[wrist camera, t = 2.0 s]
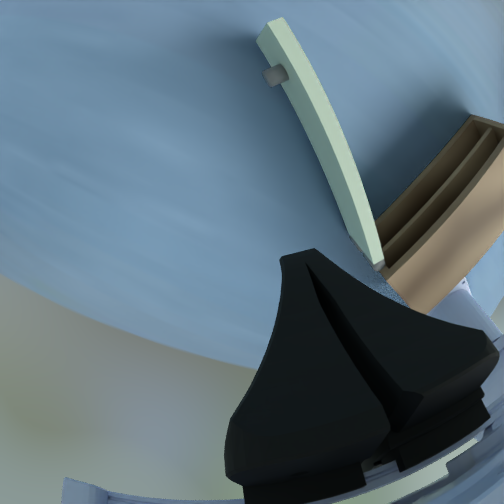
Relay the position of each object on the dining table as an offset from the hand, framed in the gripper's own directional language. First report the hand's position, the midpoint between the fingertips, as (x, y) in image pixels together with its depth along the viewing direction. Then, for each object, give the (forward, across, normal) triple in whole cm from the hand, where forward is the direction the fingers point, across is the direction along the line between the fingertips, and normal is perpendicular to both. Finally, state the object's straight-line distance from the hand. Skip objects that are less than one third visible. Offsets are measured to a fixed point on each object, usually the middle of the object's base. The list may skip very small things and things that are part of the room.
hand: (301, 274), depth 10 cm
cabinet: (+9, -15, +4) cm, 18 cm away
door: (+9, -3, -2) cm, 10 cm away
